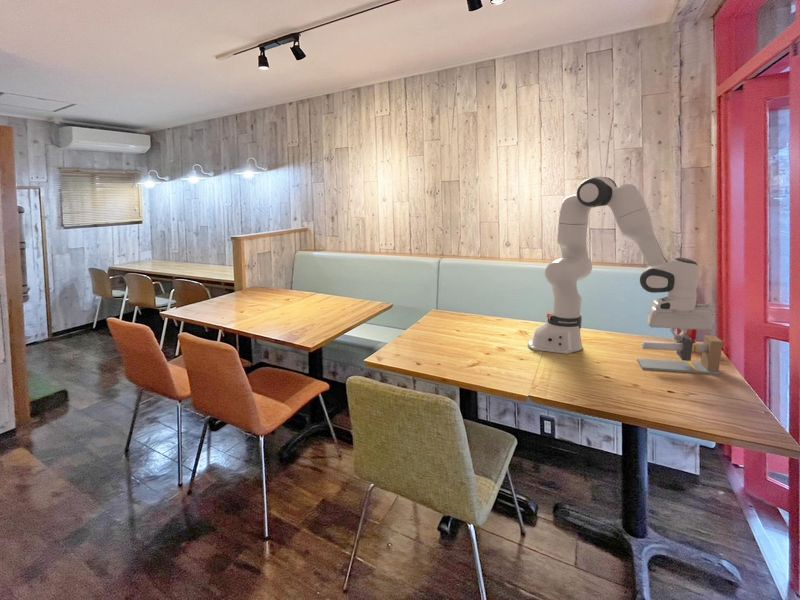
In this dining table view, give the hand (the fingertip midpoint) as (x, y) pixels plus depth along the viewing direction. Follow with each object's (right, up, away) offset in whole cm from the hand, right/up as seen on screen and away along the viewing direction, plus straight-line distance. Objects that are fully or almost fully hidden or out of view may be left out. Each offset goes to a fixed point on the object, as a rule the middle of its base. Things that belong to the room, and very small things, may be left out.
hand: (677, 339), depth 164 cm
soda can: (+18, -5, +23) cm, 29 cm away
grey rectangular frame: (+3, -7, +1) cm, 7 cm away
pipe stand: (+1, -11, +3) cm, 11 cm away
